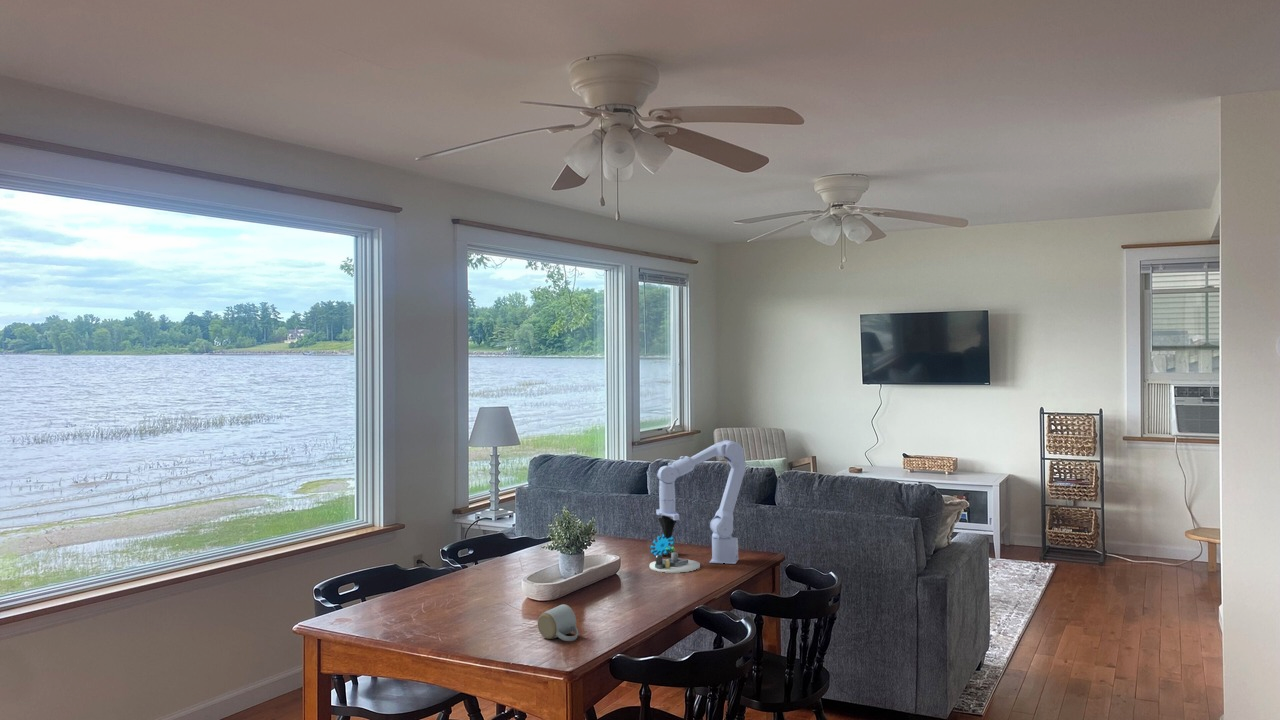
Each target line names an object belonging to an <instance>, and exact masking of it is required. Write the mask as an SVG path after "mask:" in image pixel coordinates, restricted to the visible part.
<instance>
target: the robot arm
mask: <svg viewBox="0 0 1280 720" xmlns="http://www.w3.org/2000/svg"><path fill="white" fill-rule="evenodd" d="M744 451H745V450H744V449H743V447H742V446H741V445H740V443H739V442H736V441H732V440H729V439H723V440H722V441H720V442H715V443H714V444H713V445H712V444H711V445H710V446H708V447H707V448H704V449H703V450H701V451H700V452H698V453H696V454H694V455H692V456H691V457H690V456H687V455H685V456H683V455H682V456H679V458H678V459H677V460H675V461H673V462H668V463H667V465H663V466H661V467H659V469H658V471H657V473H656V476H657V479H658V480H659V482H658V485H659V486H658V488H659V489H658V493H659V495H658V496H659V498H658V499H659V504H658V505H659V508H657V509H656V510H655V511H656V512H655V514H656V515H657V516H661V517H658V518H657V519H658V521H659V523H660V525H661V529H662V533H663V534H664V537H665V538H668V539H669V538H671V537H673V531H674V528H675V525H676V523H677V521H680V514H679V513H678V512H677V511H676V486H675V485H676V484H675V483H676V482H675V481H676V480H677V478H680V477H682V476H684V475H686V474H688V473H690V472H693V470H694V469H695V466H696V465H699V464H701V463H703V462H705V461H707V460H710V459H712V458H714V457H717V458H718V457H719V458H724V459H725V460H726V461H727V463H728V464H729V466H730V469H729V470H730V471H729V474H728V477H727V481H726V484H725V487H724V490H723V491H724V492H723V495H722V498H721V501H720V504H719V507H718V509H717V511H716V512H715V515H714V516H713V518H712V519H711V520H710V523H709V528H710V529H709V530H711V532H712V534H711V554H712V556H711V559H710V561H709V564H723V563H725V564H726V565H727V564H728V565H729V564H731V565H736V564H737V563H738V561H739V541H738V540H739V539H738V537H733V536H732V535H733V532H734V510H735V507H736V503H737V499H738V496H739V493H740V490H741V486H742V482H743V481H744V480H743V478H744V477H745V472H746V470H747V463H746V458H745V452H744ZM725 564H724V565H725Z"/></svg>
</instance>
